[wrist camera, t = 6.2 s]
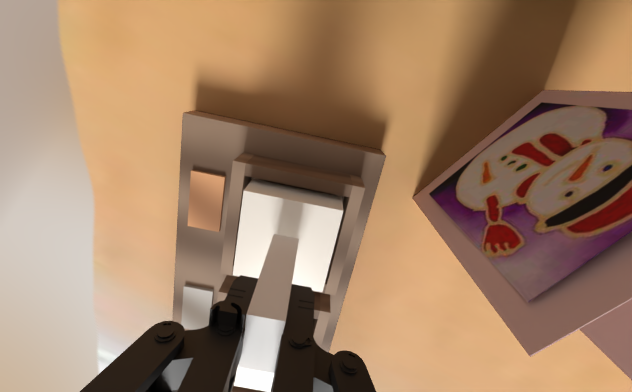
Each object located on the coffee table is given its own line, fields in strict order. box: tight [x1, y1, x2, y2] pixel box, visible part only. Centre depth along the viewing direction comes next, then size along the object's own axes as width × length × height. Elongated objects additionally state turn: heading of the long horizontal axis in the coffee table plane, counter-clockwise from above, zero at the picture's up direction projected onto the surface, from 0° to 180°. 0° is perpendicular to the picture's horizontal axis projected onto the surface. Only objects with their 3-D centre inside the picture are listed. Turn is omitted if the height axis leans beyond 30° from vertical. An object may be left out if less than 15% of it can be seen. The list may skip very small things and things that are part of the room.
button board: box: [172, 111, 386, 392], centre depth 26 cm, size 32×14×4 cm, turn 168°
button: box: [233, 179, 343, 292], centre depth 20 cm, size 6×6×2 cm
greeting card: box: [413, 90, 632, 380], centre depth 16 cm, size 11×7×15 cm, turn 135°
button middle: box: [234, 365, 274, 392], centre depth 23 cm, size 6×6×2 cm
